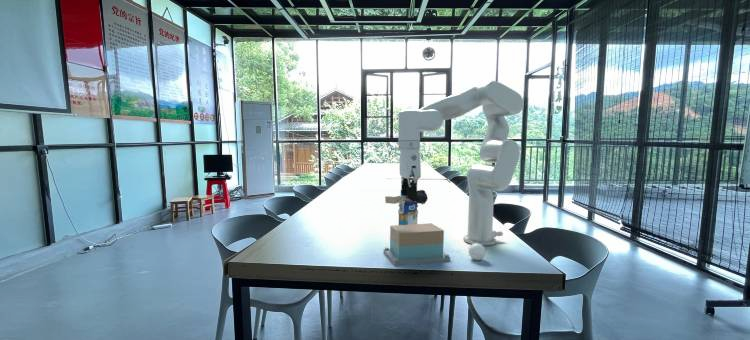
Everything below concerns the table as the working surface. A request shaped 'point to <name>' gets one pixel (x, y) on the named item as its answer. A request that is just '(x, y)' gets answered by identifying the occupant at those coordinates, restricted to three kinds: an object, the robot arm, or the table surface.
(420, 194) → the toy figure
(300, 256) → the table surface
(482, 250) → the white sphere
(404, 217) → the beverage bottle
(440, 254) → the tan and blue box
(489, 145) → the robot arm
